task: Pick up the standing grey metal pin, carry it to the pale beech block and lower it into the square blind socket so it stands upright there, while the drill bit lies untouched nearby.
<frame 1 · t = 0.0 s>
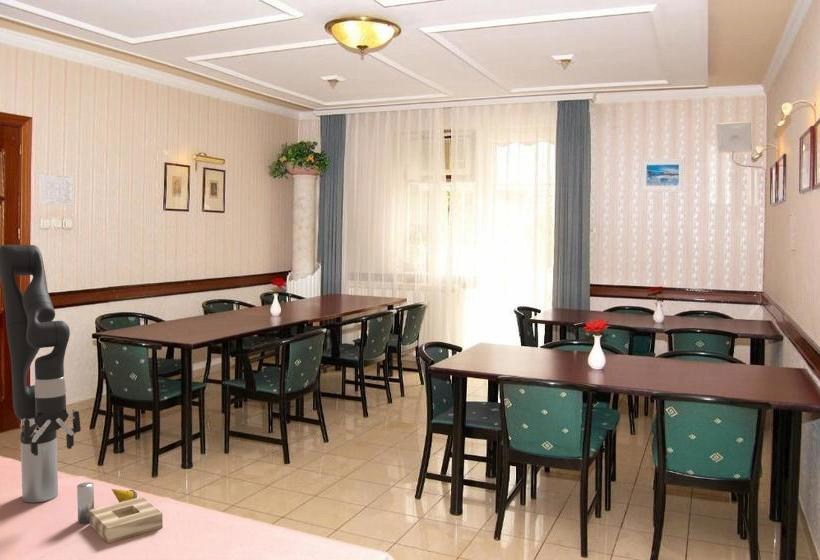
hand: (52, 451, 189), 17 cm above the table, fingers open, 8 cm apart
socket block: (126, 526, 182), on the table
drill bit: (126, 509, 193), on the table
pin: (86, 520, 185), on the table
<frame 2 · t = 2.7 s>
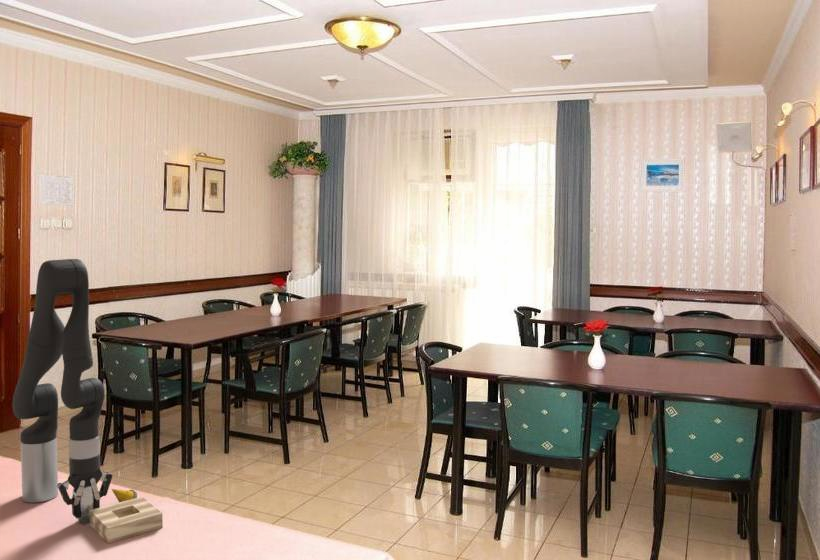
hand: (86, 514, 185), 2 cm above the table, fingers closed on pin, 4 cm apart
pin: (86, 520, 185), on the table, touching gripper
everything else where it was.
when the fingers open (5 cm above the table, at t = 6.8 s): pin drops 2 cm, resting on socket block.
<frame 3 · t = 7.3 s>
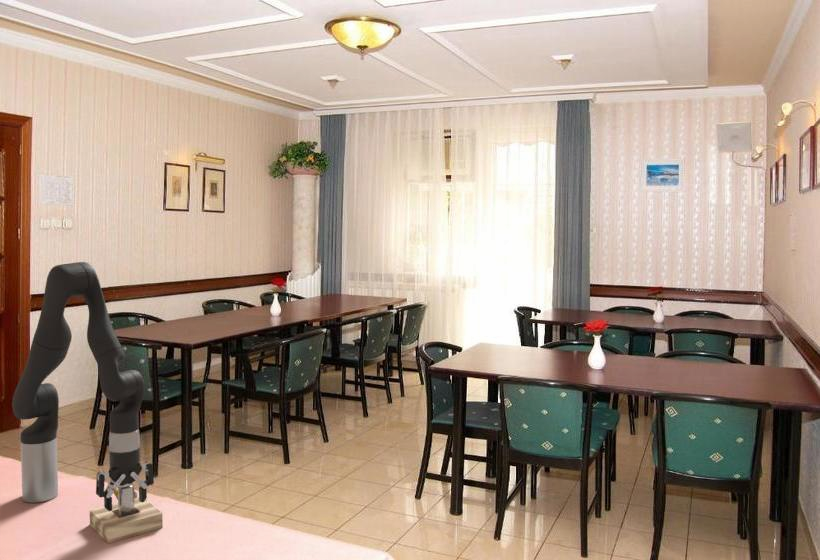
hand: (125, 505, 182), 6 cm above the table, fingers open, 8 cm apart
pin: (126, 522, 182), point 1 cm above the table, touching socket block
everything else where it was.
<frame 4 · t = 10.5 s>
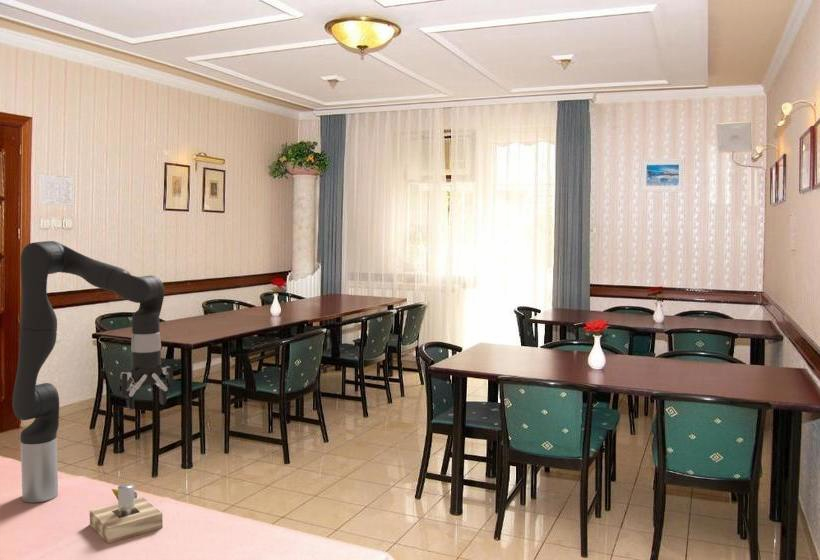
hand: (147, 406, 189), 30 cm above the table, fingers open, 8 cm apart
nothing on the table moved.
at the end: pin 0.2 cm off-centre on the socket block, point 0.9 cm above the socket block's base; pin tilted 0°; the gripper is holding nothing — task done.
